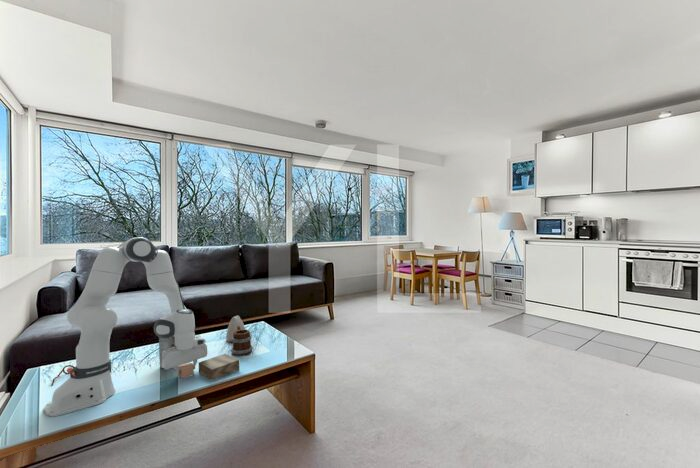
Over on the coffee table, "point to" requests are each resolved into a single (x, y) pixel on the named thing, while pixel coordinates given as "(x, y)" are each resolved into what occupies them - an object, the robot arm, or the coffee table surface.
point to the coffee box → (165, 346)
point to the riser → (218, 366)
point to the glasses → (61, 372)
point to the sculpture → (234, 327)
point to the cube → (186, 370)
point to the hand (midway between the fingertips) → (185, 371)
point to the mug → (241, 342)
